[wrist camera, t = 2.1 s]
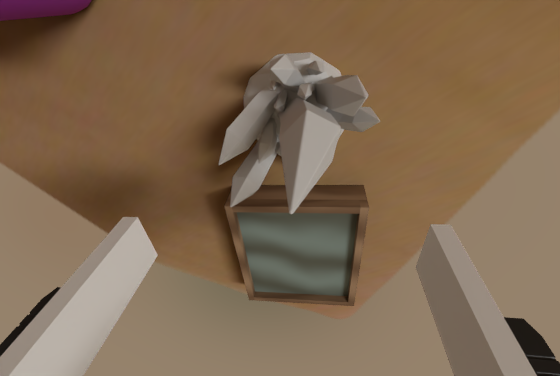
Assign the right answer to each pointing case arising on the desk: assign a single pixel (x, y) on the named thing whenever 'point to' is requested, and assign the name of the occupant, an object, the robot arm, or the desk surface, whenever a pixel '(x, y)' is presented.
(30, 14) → the beverage can
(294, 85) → the crystal
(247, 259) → the wooden tray
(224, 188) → the desk surface
